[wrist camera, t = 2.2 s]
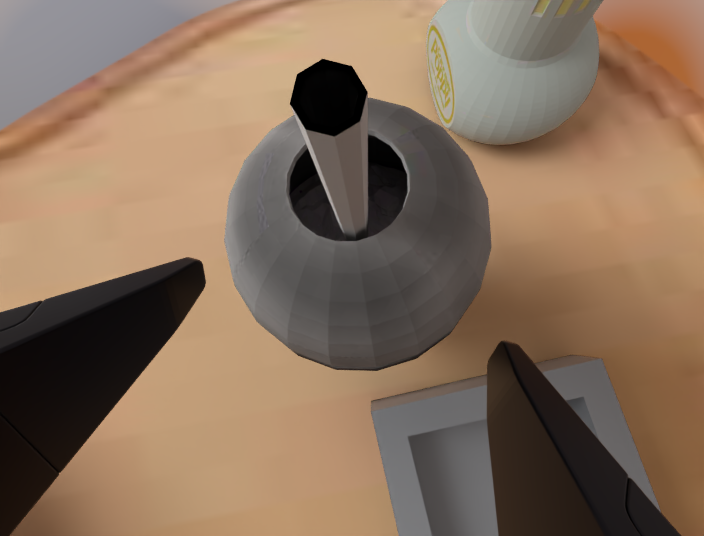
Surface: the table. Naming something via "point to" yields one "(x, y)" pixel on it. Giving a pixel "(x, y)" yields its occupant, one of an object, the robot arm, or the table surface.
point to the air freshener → (511, 65)
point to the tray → (479, 446)
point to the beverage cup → (356, 227)
